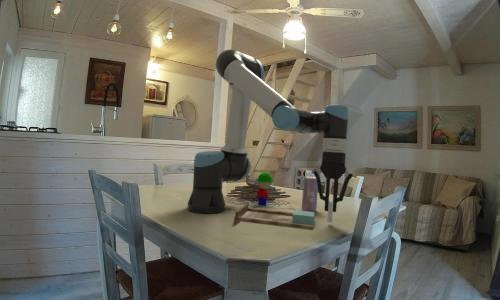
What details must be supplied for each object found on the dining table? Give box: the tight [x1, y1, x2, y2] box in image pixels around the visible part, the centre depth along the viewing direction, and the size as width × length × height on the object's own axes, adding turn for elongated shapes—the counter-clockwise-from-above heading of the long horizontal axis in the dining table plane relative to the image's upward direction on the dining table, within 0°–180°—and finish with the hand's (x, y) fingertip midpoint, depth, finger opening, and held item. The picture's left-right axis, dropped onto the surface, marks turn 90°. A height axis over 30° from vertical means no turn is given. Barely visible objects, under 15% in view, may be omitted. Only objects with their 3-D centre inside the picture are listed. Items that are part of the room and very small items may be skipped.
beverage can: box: [301, 176, 319, 212], centre depth 122 cm, size 6×6×15 cm
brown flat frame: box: [233, 203, 314, 230], centre depth 104 cm, size 26×16×4 cm, turn 76°
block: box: [291, 209, 315, 227], centre depth 102 cm, size 7×7×3 cm
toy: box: [255, 171, 275, 207], centre depth 131 cm, size 8×8×15 cm
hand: (329, 221), depth 100 cm, fingers closed
